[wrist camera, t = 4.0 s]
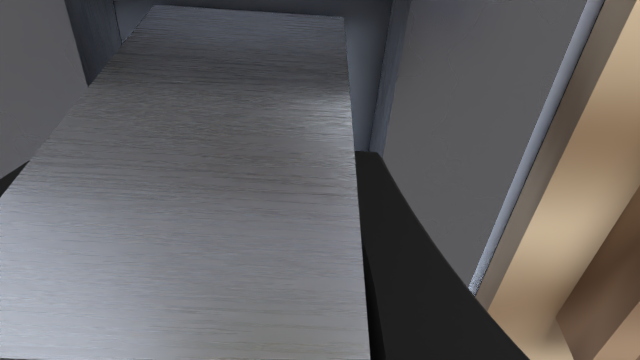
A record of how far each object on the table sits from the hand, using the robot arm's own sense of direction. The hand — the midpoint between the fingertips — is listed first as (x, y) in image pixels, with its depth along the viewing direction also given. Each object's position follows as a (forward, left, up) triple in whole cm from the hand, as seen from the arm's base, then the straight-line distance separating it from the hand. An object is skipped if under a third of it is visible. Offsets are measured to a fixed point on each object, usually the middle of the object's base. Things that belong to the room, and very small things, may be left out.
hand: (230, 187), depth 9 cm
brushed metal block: (0, 0, -3) cm, 3 cm away
